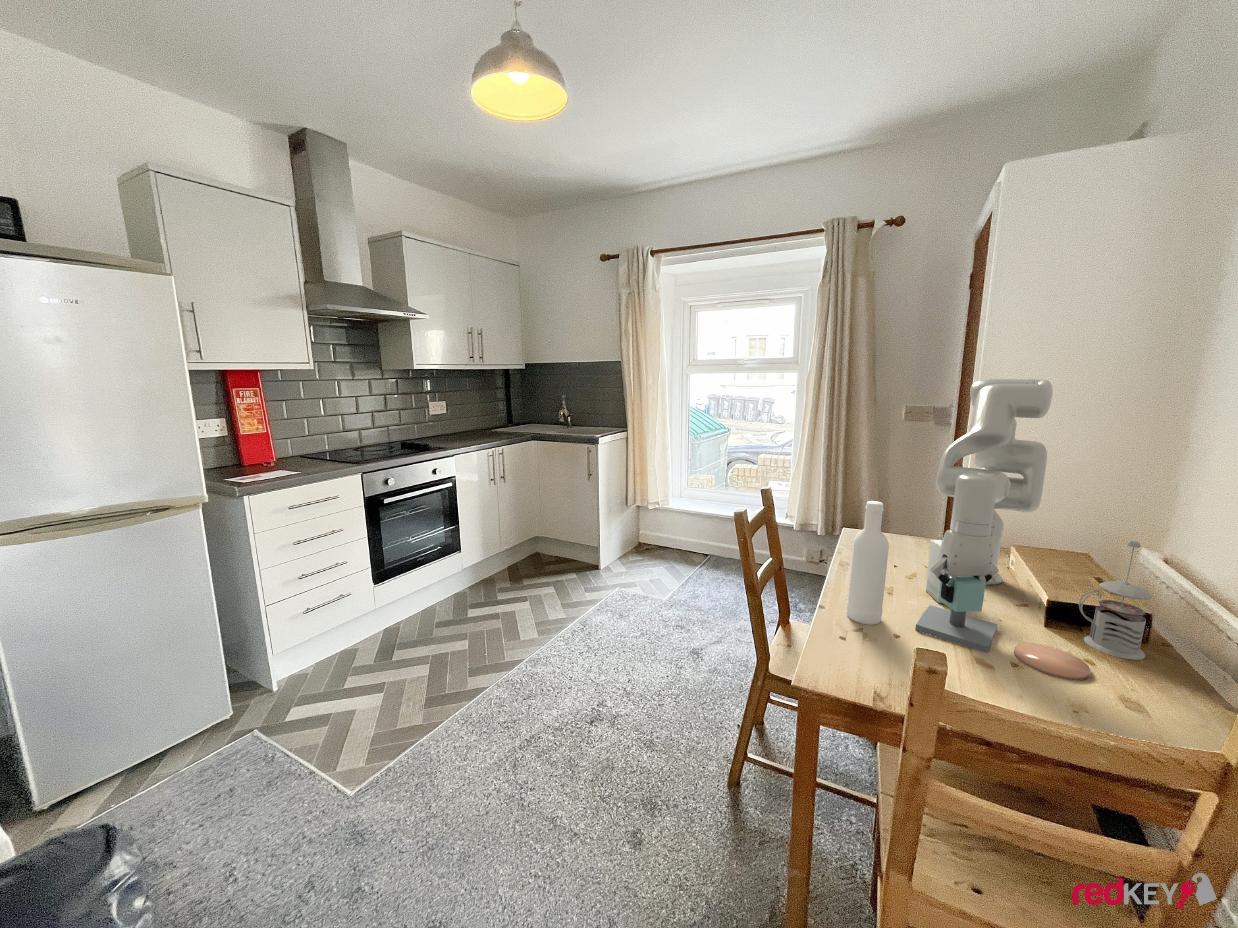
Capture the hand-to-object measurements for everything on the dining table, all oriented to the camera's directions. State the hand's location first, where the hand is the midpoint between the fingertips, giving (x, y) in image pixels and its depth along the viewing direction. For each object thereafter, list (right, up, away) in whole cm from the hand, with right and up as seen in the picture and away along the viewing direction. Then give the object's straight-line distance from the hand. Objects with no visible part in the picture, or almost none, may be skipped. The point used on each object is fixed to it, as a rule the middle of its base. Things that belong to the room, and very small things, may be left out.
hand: (960, 599), depth 113 cm
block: (0, -2, 0) cm, 2 cm away
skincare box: (+8, -5, +18) cm, 20 cm away
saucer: (+11, -10, -12) cm, 19 cm away
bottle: (-19, -7, +7) cm, 22 cm away
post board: (0, -8, +1) cm, 8 cm away
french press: (+30, -9, -5) cm, 31 cm away
